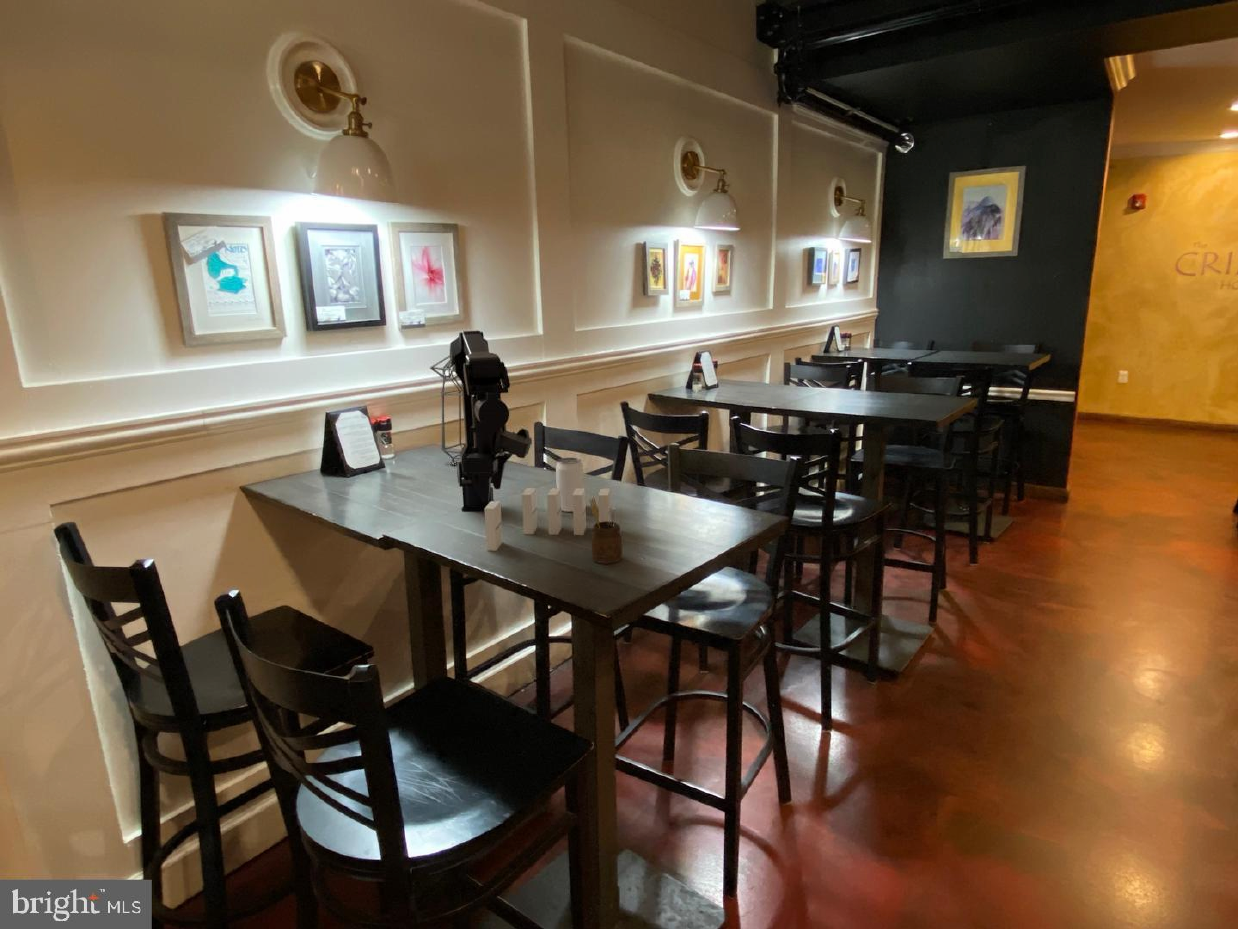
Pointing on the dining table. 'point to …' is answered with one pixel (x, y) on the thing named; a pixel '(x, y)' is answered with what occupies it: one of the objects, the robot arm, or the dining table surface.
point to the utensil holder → (606, 539)
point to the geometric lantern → (443, 403)
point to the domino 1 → (493, 525)
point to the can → (569, 480)
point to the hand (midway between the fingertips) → (491, 495)
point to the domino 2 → (529, 510)
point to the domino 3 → (554, 511)
